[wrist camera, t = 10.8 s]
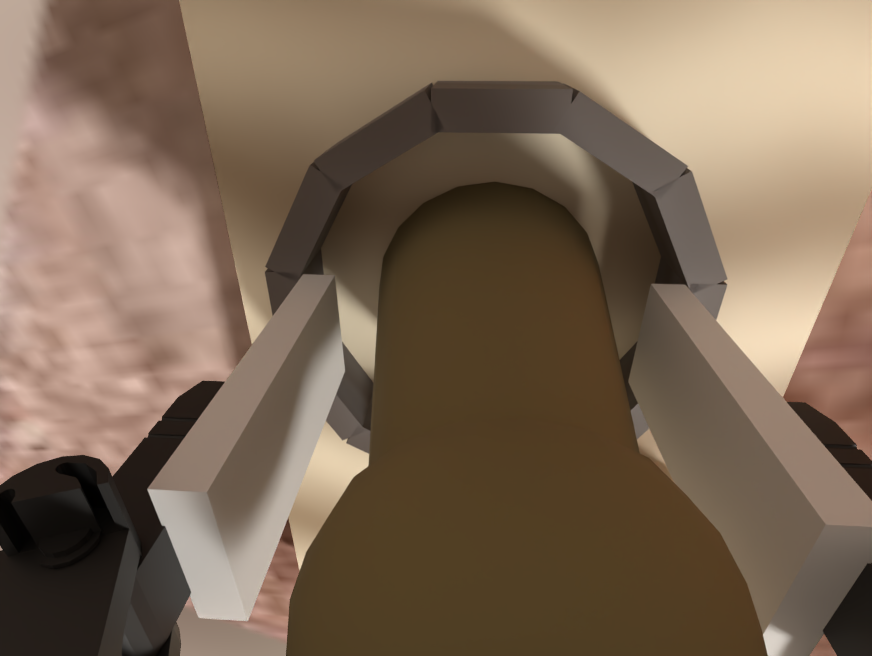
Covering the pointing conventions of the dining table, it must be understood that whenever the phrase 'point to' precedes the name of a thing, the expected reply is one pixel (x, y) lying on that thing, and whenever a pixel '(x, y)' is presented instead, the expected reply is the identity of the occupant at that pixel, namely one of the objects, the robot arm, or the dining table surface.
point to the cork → (509, 466)
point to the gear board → (539, 158)
